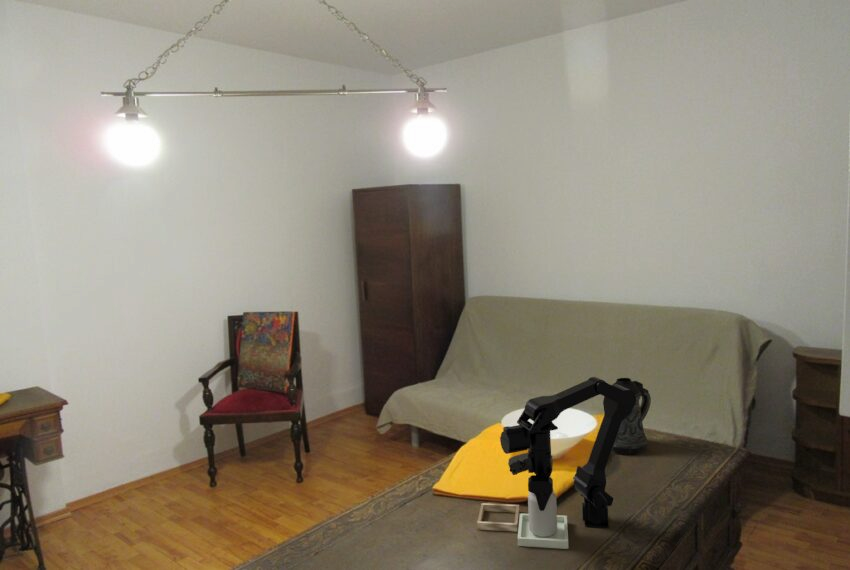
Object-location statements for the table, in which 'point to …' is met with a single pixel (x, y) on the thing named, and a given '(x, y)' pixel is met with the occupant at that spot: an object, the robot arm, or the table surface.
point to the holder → (498, 525)
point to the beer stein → (633, 421)
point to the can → (542, 516)
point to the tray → (534, 541)
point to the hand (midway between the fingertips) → (542, 501)
